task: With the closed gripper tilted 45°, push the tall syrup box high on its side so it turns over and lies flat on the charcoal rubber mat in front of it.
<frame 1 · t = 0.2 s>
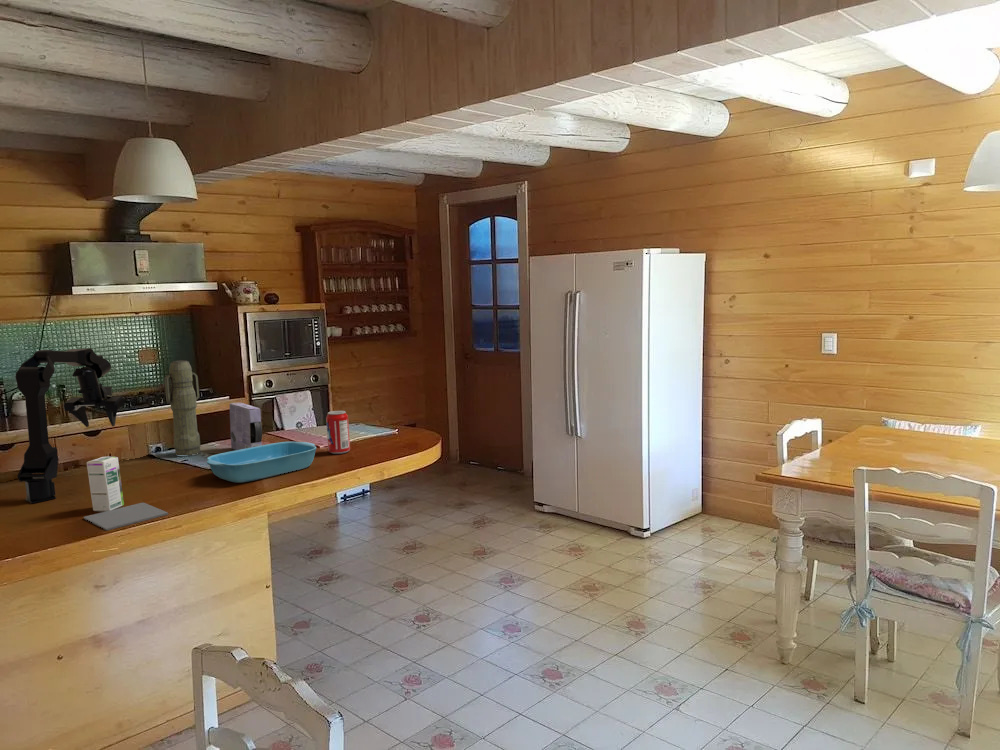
hand: (100, 426, 252), 15 cm above the worktop, tool pointing down, fingers open, 9 cm apart
soda can: (339, 452, 268), on the worktop
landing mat: (125, 516, 201), on the worktop
syrup box: (108, 509, 209), on the worktop
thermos: (188, 454, 274), on the worktop
casserole dish: (264, 472, 245), on the worktop
cake pan box: (247, 452, 275), on the worktop
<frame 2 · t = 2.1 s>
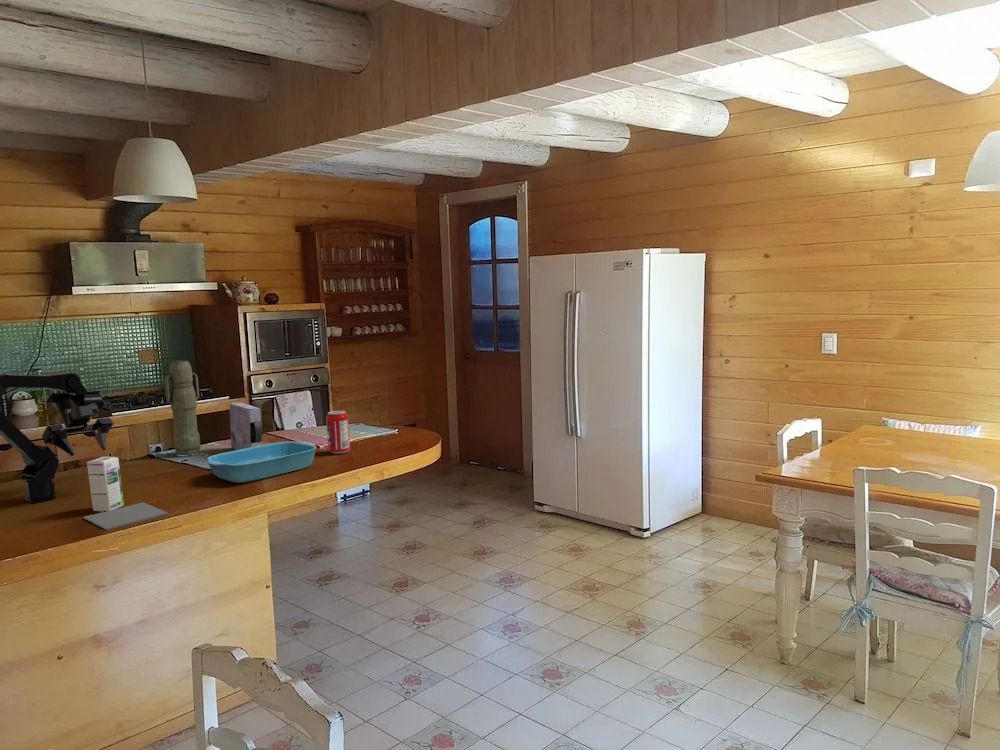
hand: (89, 452, 220), 14 cm above the worktop, tool tilted 40°, fingers open, 9 cm apart
nothing on the worktop moved.
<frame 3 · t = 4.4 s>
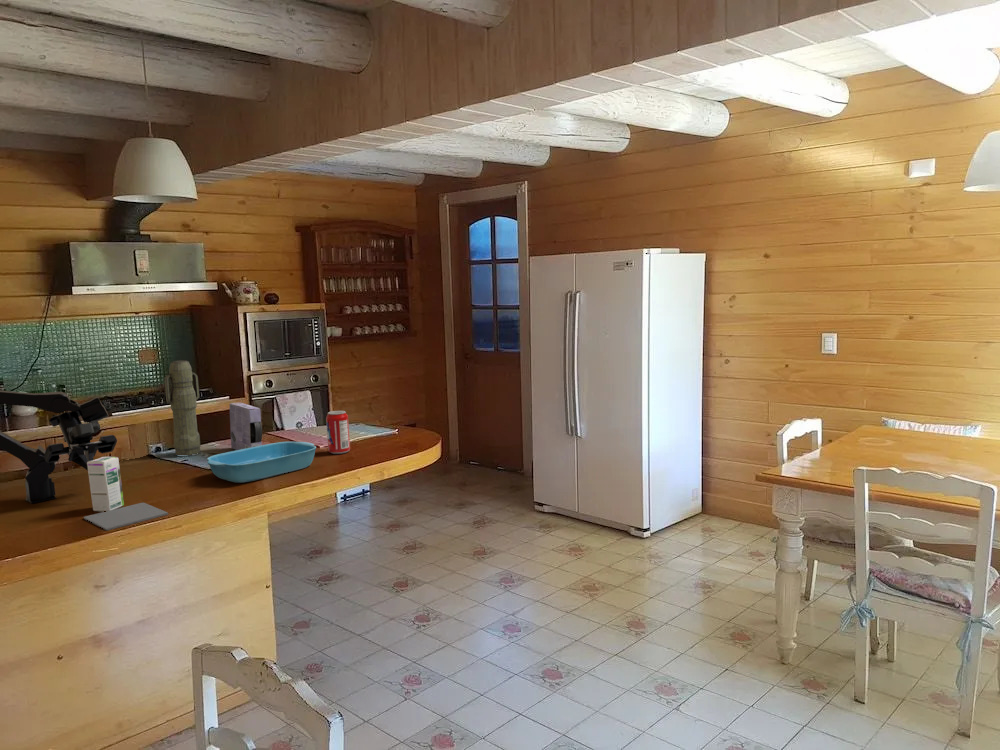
hand: (91, 470, 215), 9 cm above the worktop, tool tilted 45°, fingers closed
nothing on the worktop moved.
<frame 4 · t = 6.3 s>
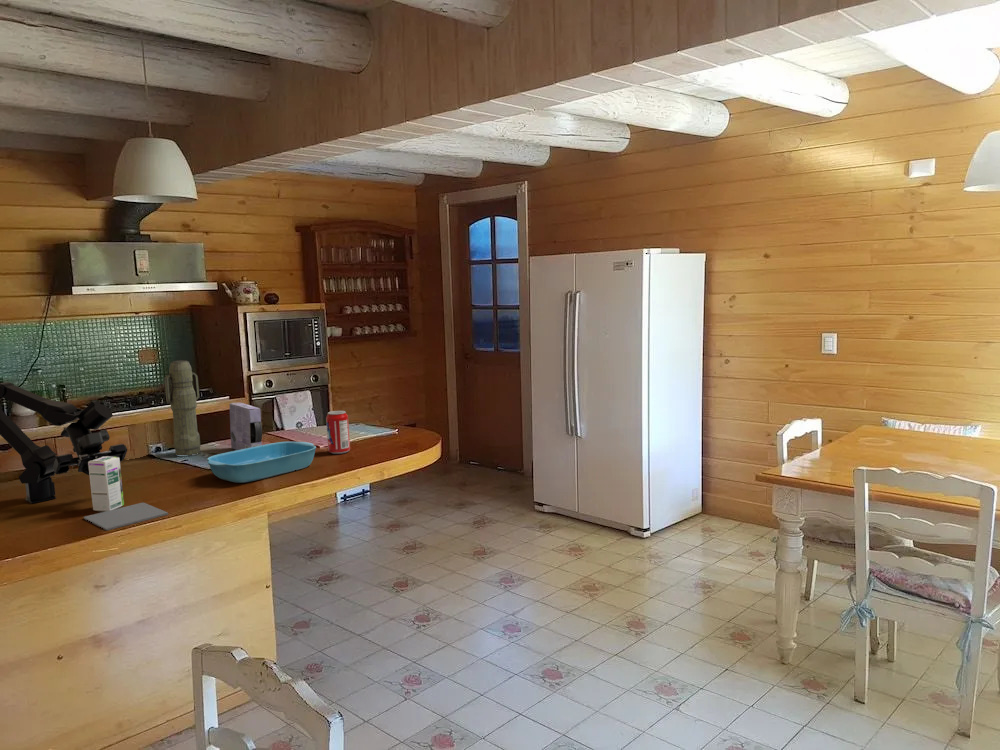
hand: (101, 481, 211), 7 cm above the worktop, tool tilted 45°, fingers closed
syrup box: (108, 508, 209), on the worktop, touching gripper
everything else where it was.
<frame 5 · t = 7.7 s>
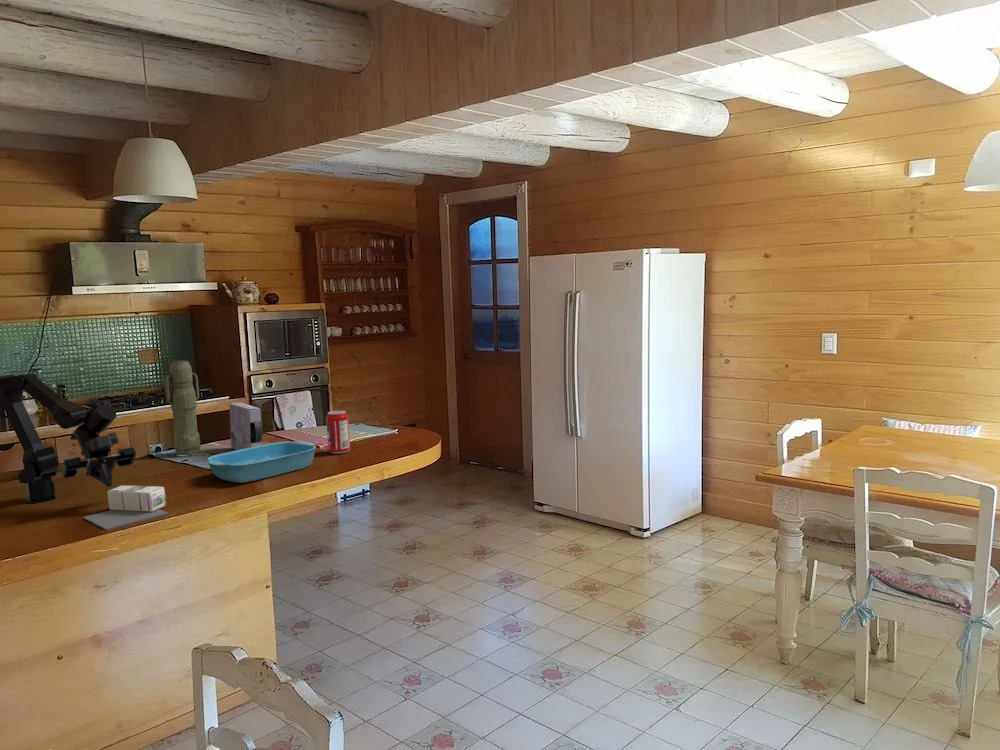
hand: (110, 485, 206), 7 cm above the worktop, tool tilted 45°, fingers closed
syrup box: (115, 496, 208), point 3 cm above the worktop, touching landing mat
everything else where it was.
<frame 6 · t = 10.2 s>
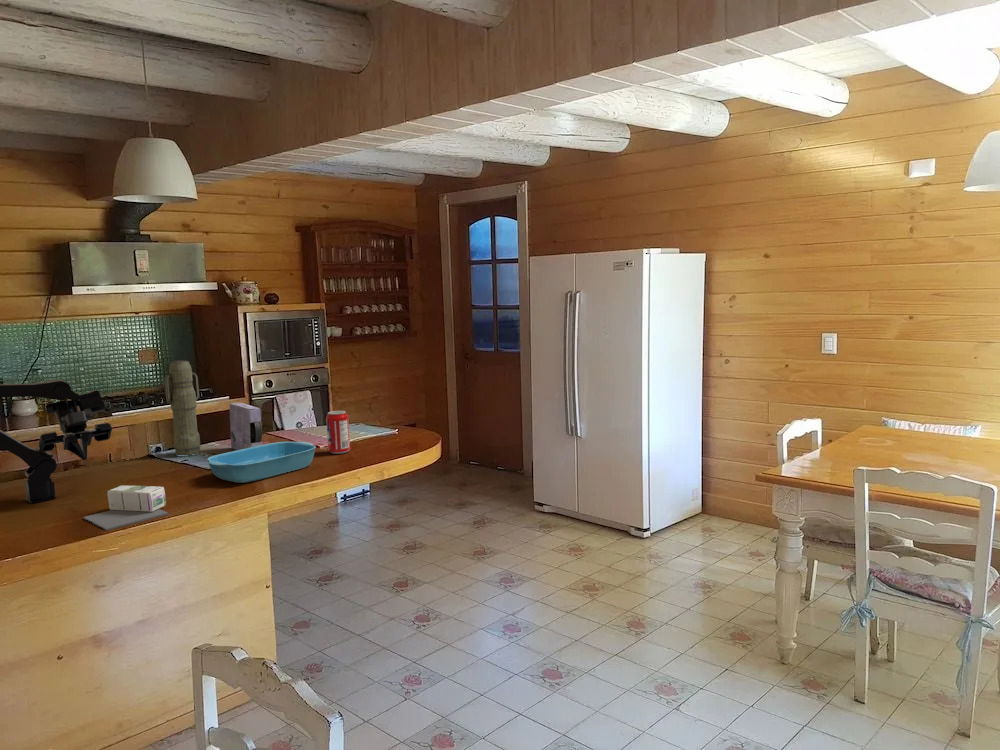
hand: (85, 459, 215), 13 cm above the worktop, tool tilted 45°, fingers closed
nothing on the worktop moved.
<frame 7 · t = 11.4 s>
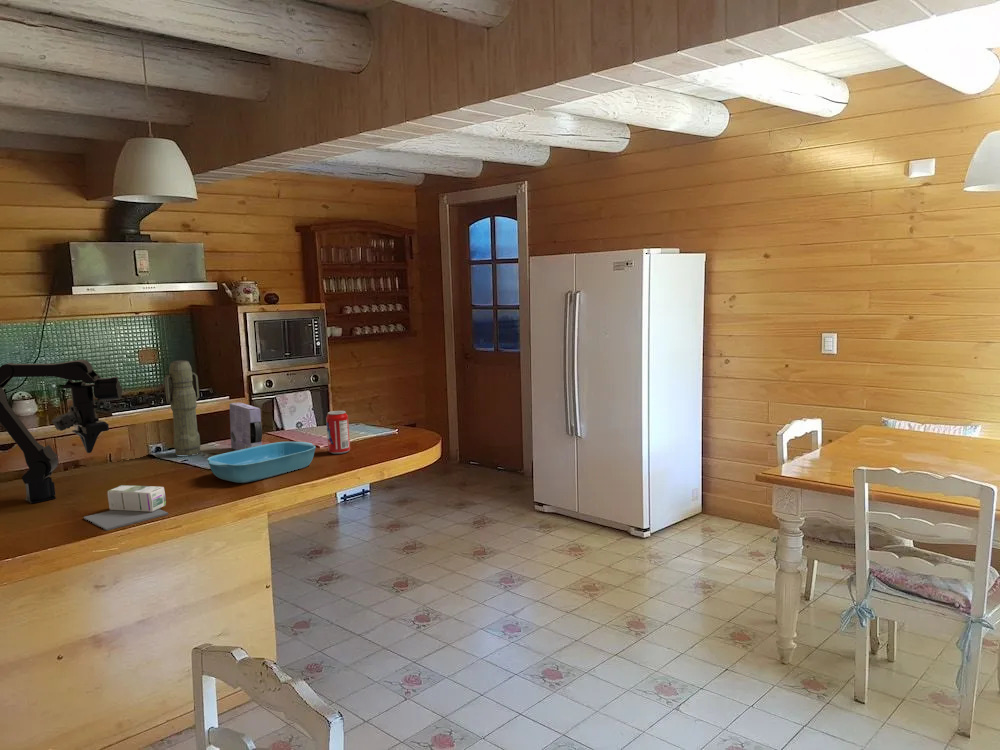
hand: (89, 452, 222), 13 cm above the worktop, tool pointing down, fingers closed
nothing on the worktop moved.
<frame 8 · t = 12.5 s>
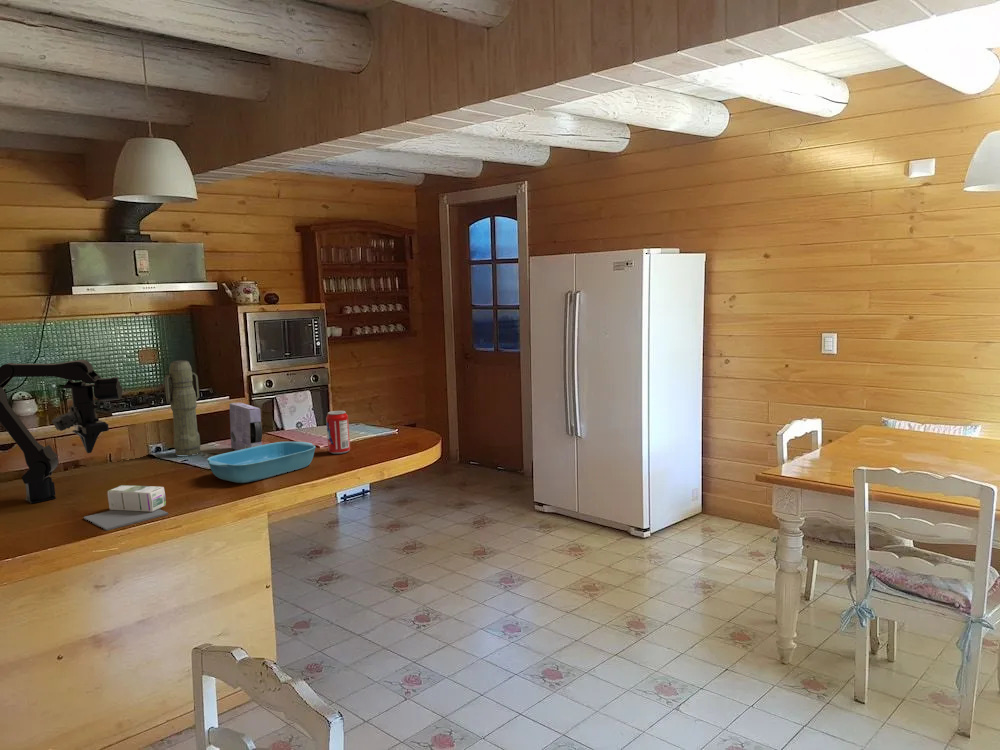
hand: (89, 452, 222), 13 cm above the worktop, tool pointing down, fingers closed
nothing on the worktop moved.
at the end: syrup box tilted 90°; syrup box touching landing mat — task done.
